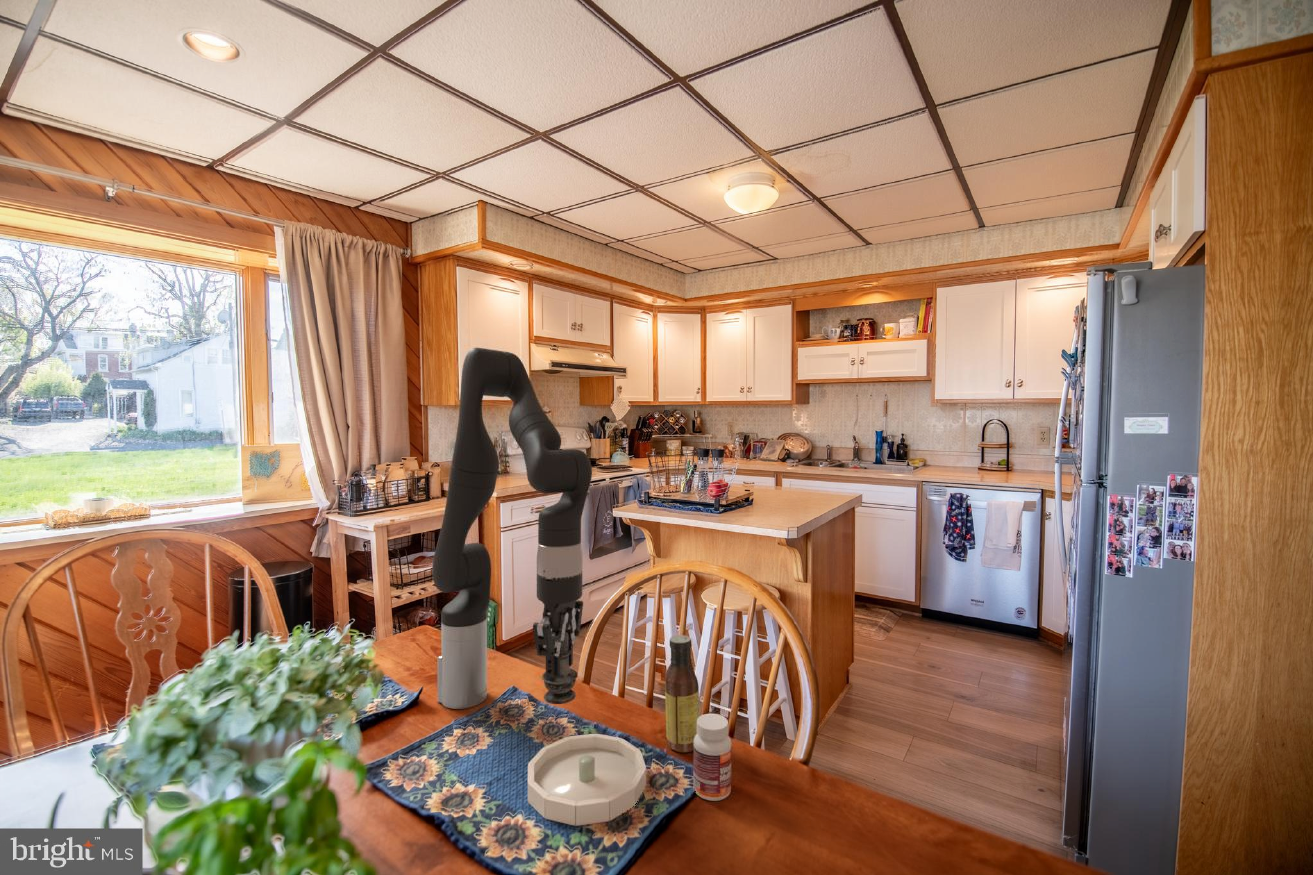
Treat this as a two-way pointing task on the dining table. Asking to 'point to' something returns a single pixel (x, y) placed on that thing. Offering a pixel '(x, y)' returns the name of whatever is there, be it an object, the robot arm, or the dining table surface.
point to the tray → (586, 779)
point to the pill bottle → (712, 758)
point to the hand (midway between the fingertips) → (559, 670)
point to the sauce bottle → (681, 696)
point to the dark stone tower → (561, 678)
